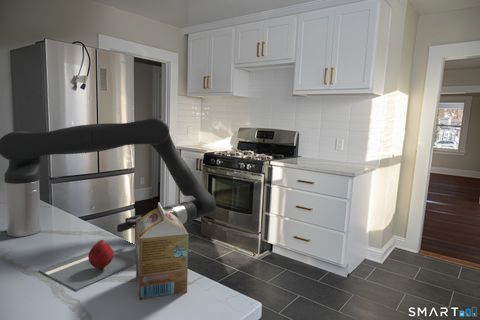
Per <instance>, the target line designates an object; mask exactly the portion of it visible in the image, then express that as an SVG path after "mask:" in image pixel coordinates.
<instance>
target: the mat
mask: <svg viewBox="0 0 480 320" xmlns="http://www.w3.org/2000/svg"><path fill="white" fill-rule="evenodd" d="M89 252H90V251H87V252H85V253H82V254H80V255H77V256H74V257H71V258H68V259H66V260H65V259H64V260H63V261H60V262H58V263H54V264H52V265H49V266H47V267H44V268H40V269H39V270H38V271H39V272H40V273H42V274H43V275H46V276H47V277H49V278H51V279H53V280H55V281H56V282H58V283H61V284H62V285H64V286H66V287H67V288H70V289H71V290H74V291H75V292H78V291H80V290H83V289H84V288H86V287H87V288H88V286H89V287H90V286H91V285H93V284H96V283H98V282H99V281H102V280H104V279H106V278H109V277H111V276H113V275H115V274H118V273H119V272H121V271H123V270H126V269H128V268H130V267H132V266H134V265H135V266H136V258H132V257H129V256H127V255H125V254H121V253H119V252H116V251H115V250H113V254H114V255H113V259H112V261H111V262H110V263H109V264H108V265H107V266H106V267H105V268H104V269H101V270H100V269H97V268H95V267H93V266H92V265H91V264H90V262H89V258H88V256H89Z"/></svg>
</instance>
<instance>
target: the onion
mask: <svg viewBox="0 0 480 320" xmlns="http://www.w3.org/2000/svg"><path fill="white" fill-rule="evenodd" d="M113 251H114V250H113V248H112V246H110V244H108V243H107V242H105V239H103V238H100V239H99V241H97V243H96V244H94V245H93V246H92V247H91V248H90V250H89V251H88V252H89V256H88V258H89V262H90V264H91V265H92V266H93V267H95V268H97V269H100V270H101V269H104V268H105V267H106V266H107V265H108V264H109V263H110V262H111V261H112V259H113V255H114V254H113Z"/></svg>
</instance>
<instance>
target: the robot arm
mask: <svg viewBox="0 0 480 320" xmlns="http://www.w3.org/2000/svg"><path fill="white" fill-rule="evenodd" d="M131 145H150V146H152V147H153V149H154V150H155V151H156V152H157V153H158V155H159V156H160V157H161V160H163V162H164V165H165V166H166V168H167V170H168V172H169V174H170V176H171V177H172V179H173V181H174V182H175V184H176V186H177V188H178V189H179V191H180V192H181V194H182V195H183V196H185V197H193V198H194V199H191V200H189V201H183V202H179V203H175V204H170V205H167V206H162V208H163V209H164V210H166V211H168V212H170V213H172V214H173V215H175V216H176V217H177V218H178V219H179V220H180V221H181V223H182V224H183V225H184V224H187V223H190V222H191V221H194V220H197V219H201V218H202V217H205V216H207V215H210V214H213V213H214V212H215V211H216V208H217V203H216V200H215V198H214V196H213V195H212V194H211V193H210V192H209V191H208V190H207V189H206V188H205V187H204V186H203V185H202V184H201V183H199V181H198V179H197V177H196V176H195V174H194V173H193V171H192V169H191V168H190V166H189V165H188V163H186V161H185V160H184V158H183V157H182V155H181V154H180V152H179V151H178V149H177V148H176V145H175V143H174V142H173V140H172V137H171V134H170V128H169V125H168V123H167V122H166V121H165V120H163V119H162V118H159V117H150V118H145V119H141V120H136V121H131V122H124V123H122V122H121V123H118V122H117V123H116V122H115V123H113V122H112V123H110V122H109V123H107V122H106V123H93V124H92V123H91V124H81V125H75V126H74V125H73V126H69V127H64V128H60V129H55V130H50V131H44V132H43V131H41V132H30V131H28V130H26V131H25V130H24V131H23V130H22V131H21V130H20V131H12V132H9V133H6V134H4V135H3V136H2V137H0V156H1V157H3V158H4V159H6V160H8V167H7V170H6V171H5V173H4V192H5V213H6V214H5V215H6V233H7V234H6V235H7V236H9V237H14V238H15V237H16V238H18V237H27V236H31V235H35V234H37V233H39V232H41V230H42V227H41V226H42V224H41V223H42V222H41V221H42V220H41V199H40V198H41V196H40V191H41V190H40V173H41V169H42V157H43V156H44V157H46V156H50V155H52V156H53V155H75V154H89V153H90V154H91V153H97V152H104V151H108V150H114V149H116V148H121V147H125V146H131ZM143 216H144V215H143V214H142V213H141V214H136V215H134V216H130V217H129V216H128V217H126V218H124V219H125V221H124V222H122V223H118V224H117V232H118V233H123V232H125V231H128V230H133V229H136V222H137V221H139V220H140V219H141V218H142V217H143Z"/></svg>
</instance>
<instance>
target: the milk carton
mask: <svg viewBox="0 0 480 320" xmlns="http://www.w3.org/2000/svg"><path fill="white" fill-rule="evenodd" d="M189 235H190V234H189V233H188V231H187V229H186V227H185V226H184V224H182V223H181V221H180V220H179V219H178V218H177V217H176V216H175V215H173V214H172V213H170V212H168V211H166V210H164V209H163V206H162V205H161V203H160V201H159V202H157V207H156V208H154V209H153V210H151V211H149V212H148V213H146V214H145V215H143V217H142V218H141V219H140V220H139V221H137V222H136V228H135V260H136V264H135V280H136V287H137V295H138V300H139V301H143V300H144V301H145V300H149V299H155V298H160V297H167V296H173V295H179V294H185V293H188V271H189V268H188V267H189V265H188V264H189Z"/></svg>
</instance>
